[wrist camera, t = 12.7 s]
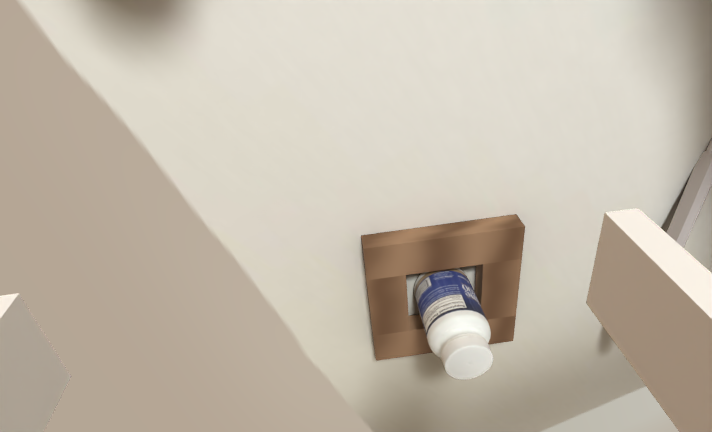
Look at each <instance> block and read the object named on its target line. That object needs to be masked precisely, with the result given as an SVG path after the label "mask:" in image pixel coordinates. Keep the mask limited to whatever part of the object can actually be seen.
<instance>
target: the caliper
mask: <svg viewBox="0 0 712 432" xmlns="http://www.w3.org/2000/svg"><path fill="white" fill-rule="evenodd" d="M711 185H712V139H711V141H710V143H709V145H708V148H707V150H706V151H704V152H703V153H702V155H701V157H700V158H699V160H698V162H697V163H696V165H695V166H694V168H693V171H692V173H691V176H690V178H689V180H688V183H687V185H686V188H685V190H684V192H683V195H682V197H681V199H680V202H679V204H678V207H677V209H676V211H675V214H674V216H673V219H672V221H671V223H670V226H669V228H668V230H667V234H668V235H669V236H670V237H671V238H672V239H674V240H675V241H676V242H677V243H678V244H679V245H680V246H682V247H683V248H684V246H685V244H686V241H687V239H688V237H689V235H690V232H691V230H692V228H693V226H694V223H695V221H696V219H697V217H698V214H699V212H700V210H701V208H702V205H703V203H704V201H705V198H706V196H707V194H708V192H709V189H710V187H711Z"/></svg>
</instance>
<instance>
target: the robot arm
mask: <svg viewBox="0 0 712 432" xmlns="http://www.w3.org/2000/svg"><path fill="white" fill-rule="evenodd" d="M586 304H587V305H588V306H589V308H590V309H591V311H592V312H593V313H594V315H595V316H596V317H597V319H598V320H599V322H600V323H601V324H602V326H603V327H604V328H605V330H606V331H607V333H608V334H609V335H610V337H611V338H612V339H613V341H614V342H615V344H616V345H617V346H618V348H619V349H620V351H621V352H622V353H623V355H624V356H625V357H626V359H627V360H628V362H629V363H630V364H631V366H632V367H633V368H634V370H635V371H636V373H637V374H638V375H639V377H640V378H641V379H642V381H643V382H644V384H645V385H646V386H647V388H648V389H649V390H650V392H651V393H652V395H653V396H654V397H655V398H656V400H657V402H658V403H659V404H660V406H661V407H662V408H663V410H664V411H665V413H666V414H667V415H668V417H669V418H670V419H671V421H672V422H673V424H674V425H675V426H676V428H677V429H678V431H679V432H712V273H711V272H710V271H709V270H708V269H706V268H705V267H704V266H703V265H702V264H701V263H700V262H698V261H697V260H696V259H695V258H694V257H693V256H692V255H691V254H689V253H688V252H687V251H686V250H685V249H684V248H683V247H682V246H680V245H679V244H678V243H677V242H676V241H675V240H674V239H672V238H671V237H670V236H669V235H668V234H667V233H666V232H665V231H663V230H662V229H661V228H660V227H659V226H658V225H657V224H656V223H654V222H653V221H652V220H651V219H650V218H649V217H648V216H646V215H645V214H644V213H643V212H642V211H641V210H640V209H639V208H634V209H627V210H620V211H612V212H605V214H604V219H603V224H602V229H601V234H600V238H599V243H598V248H597V253H596V258H595V262H594V267H593V272H592V277H591V282H590V287H589V291H588V296H587V301H586ZM70 378H71V375H70V374H69V372H68V370H67V369H66V367H65V366H64V364H63V362H62V361H61V359H60V358H59V356H58V354H57V353H56V351H55V350H54V348H53V346H52V345H51V343H50V342H49V340H48V338H47V337H46V335H45V334H44V332H43V330H42V329H41V327H40V326H39V324H38V323H37V321H36V319H35V318H34V316H33V315H32V313H31V311H30V310H29V308H28V307H27V305H26V304H25V302H24V300H23V299H22V297H21V296H20V294H19V293H17V294H10V295H3V296H0V432H44V430H45V428H46V426H47V424H48V422H49V420H50V418H51V416H52V414H53V412H54V410H55V408H56V406H57V404H58V402H59V400H60V398H61V396H62V394H63V392H64V390H65V388H66V386H67V384H68V382H69V380H70Z"/></svg>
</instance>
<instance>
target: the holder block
mask: <svg viewBox="0 0 712 432" xmlns="http://www.w3.org/2000/svg"><path fill="white" fill-rule="evenodd" d="M524 231H525V226H524V224H523V223H522V222H521V220H520V219H519V217H518V216H517V215H516V214H515V215H508V216H501V217H493V218H486V219H479V220H471V221H464V222H457V223H450V224H442V225H435V226H428V227H420V228H413V229H406V230H399V231H391V232H384V233H377V234H369V235H362V236H361V239H362V248H363V257H364V265H365V274H366V283H367V291H368V300H369V308H370V317H371V326H372V334H373V343H374V350H375V356H376V360H383V359H390V358H397V357H404V356H411V355H418V354H425V353H432V350H431V348H430V346H429V343H428V340H427V336H426V333H425V329H424V326H423V322H422V319H421V316H420V314H418V315H411V316H408V301H407V284H406V275H409V274H417V273H424V272H431V271H438V270H445V269H452V268H460V267H467V266H474V265H476V275H475V294H476V297H477V299H478V301H479V303H480V305H481V308H482V310H483V312H484V314H485V317H486V319H487V321H488V323H489V326H490V331H491V336H490V340H489V343H488V344H494V343H501V342H508V341H513V337H514V327H515V317H516V308H517V298H518V289H519V279H520V270H521V260H522V251H523V241H524Z"/></svg>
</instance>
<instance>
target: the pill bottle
mask: <svg viewBox="0 0 712 432" xmlns="http://www.w3.org/2000/svg"><path fill="white" fill-rule="evenodd" d="M414 294H415V299H416V302H417V305H418V309H419V312H420V316H421V319H422V322H423V326H424V329H425V333H426V336H427V340H428V343H429V346H430V348H431V350H432V352H433V353H434V354H435V355H436V356H438V357H439V358H441V361H442V363H443V366H444V368H445V371H446V372H447V374H448V375H449V376H451V377H453V378H455V379H460V380H467V379H473V378H476V377H478V376H480V375H482V374H484V373H485V372H486V371H487V370H488V369H489V368H490V367H491V365H492V363H493V355H492V352H491V349H490V347H489V344H488V343H489V340H490V336H491V331H490V326H489V323H488V321H487V319H486V317H485V314H484V312H483V310H482V308H481V305H480V303H479V301H478V299H477V297H476V294H475V292H474V290H473V288H472V286H471V284H470V282H469V280H468V278H467V276H466V274H465V273H464V272H463V271H462V270H461V269H460V268H452V269H445V270H438V271H431V272H424V273H422V274H421V275H420V276H419V277H418V279H417V280H416V282H415V285H414Z"/></svg>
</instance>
